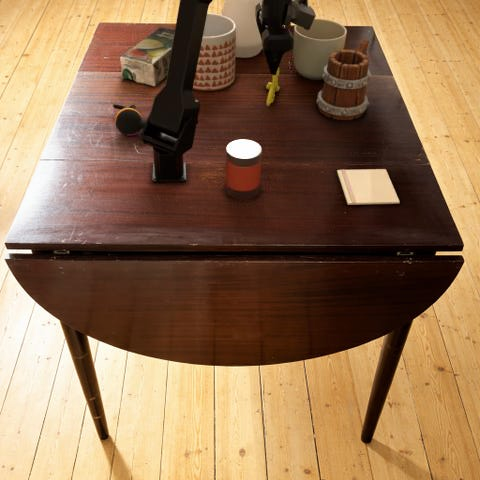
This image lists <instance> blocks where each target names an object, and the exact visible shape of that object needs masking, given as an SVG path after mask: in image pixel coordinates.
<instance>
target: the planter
mask: <svg viewBox="0 0 480 480" xmlns="http://www.w3.org/2000/svg"><path fill="white" fill-rule="evenodd" d="M293 27H294V28H293V38H294V46H293V49H292V54H293V55H292V59H293V66H294V69H295V70H296V73H298V74H299V75H300V76H302V77H303V78H305V79H307V80H311V81H324V79H323V77H322V76H323V71H324V67H325V66H326V65H327V64H328V60H329V55H330V54H331V53H333V52H335V51H338V52H339V50H345V45H346V39H347V33H348V30H347V28H346V27H345V25H342V23H339V22H337V21H334V20H330V19H324V18H315V19H314V21H313V23H312V25H311V28H310V30H305V29H304V28H303V27H301V26H298V25H295V24H294V26H293Z"/></svg>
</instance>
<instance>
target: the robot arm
mask: <svg viewBox="0 0 480 480" xmlns="http://www.w3.org/2000/svg"><path fill="white" fill-rule="evenodd" d="M212 1H214V0H179V4H178V11H177V16H176V21H175V27H174V30H175V33H174V38H173V44H172V50H171V56H170V62H169V67H168V73H167V76H166V78H165V79H166V80H165V84H164V86H162V87H161V89H160V90H159V92H158V93H157V94H156V95H155V96H154V98H153V101H152V105H151V110H150V112H149V115H148V117H147V119H146V120H147V121H146V123H145V126H144V128H143V129H141V133H140V135H139V138H140V140H141V143H142V144H143V145H146V146H149V147H151V148H152V155H153V162H152V183H153V184H157V183H159V184H160V183H162V184H163V183H186V182H187V163H186V161H184V154H186V153H187V152H188V151H190V150H191V149H193V145H194V141H195V135H196V130H197V125H198V123H199V115H200V111H201V101H200V100H198V99H196V97H195V94H194V89H193V85H194V80H195V74H196V69H197V64H198V59H199V54H200V48H201V43H202V38H203V33H204V28H205V23H206V17H207V13H209V8H210V7H209V6H210V4H211V3H212ZM259 15H260V18H259ZM316 15H317V14H316V12H315V10H314V8H313V7H312V6H311V5H309V0H262V2H259V3H258V4H257V5H256V6H255V17H256V22H257V26H258V30H259V33H260V36H261V40H262V47H263V48H262V50H263V54H264V56H265V60H266V63H267V66H268V70H269V73H270V75H271V76H273V75H276V73H277V70H278V67H279V68H280V65H281V61H282V58H283V57H284V55H285V54H286V53H288V52H291V51H293V46H294V34H293V33H292V31H291V30H290V29H289V28H284V27H291V26H292V24H293V25H294V26H295V25H298V26H301V27H303V28H304V29H305V30H310V28H311V25H312V23H313V21H314V19H316V17H317V16H316Z"/></svg>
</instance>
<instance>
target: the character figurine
mask: <svg viewBox="0 0 480 480" xmlns="http://www.w3.org/2000/svg"><path fill="white" fill-rule="evenodd" d="M112 107H113V109H116V110H119V111H118V112H117V114H115V119H114V122H115V126H116V129H117V130H118V132H119V133H120V134H122V135H124V136H128V137H132V136H136V135H137V134H139V133H140V132H141V131H142V130H143V128H144V126H145V123H146V121H147V119H143V117H142V114H141V113H140V112H139V111H138V110H137V106H136V105H135V104H131V105H130V106H129V107H127V106H124V105H121V104H116V103H115V104H113V105H112Z"/></svg>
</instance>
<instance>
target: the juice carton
mask: <svg viewBox="0 0 480 480" xmlns="http://www.w3.org/2000/svg"><path fill="white" fill-rule="evenodd" d="M174 33H175V29H170V28H166V27H163V26H160V27H158V28H156V30H154V31H153V32H152V33H150V34H149V35H148V36H146V37H145V38H144V39H142V40H141V41H140V42H138V43H137V44H136V45H134V46H133V47H132V48H130V49H128V50H127V51H126V52H125V53H124V54H122V55H121V56H120V57H119V59H120V60H119V61H120V67H121V78H122V79H123V80H131V81H134V82H136V83H138V84H139V83H140V84H144V85H145V84H146V85H148V86H152V87H156V86H157V85H159V84H160V82H162V81H163V80H164V79H166V78H167V73H168V67H169V62H170V56H171V50H172V44H173V38H174Z"/></svg>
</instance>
